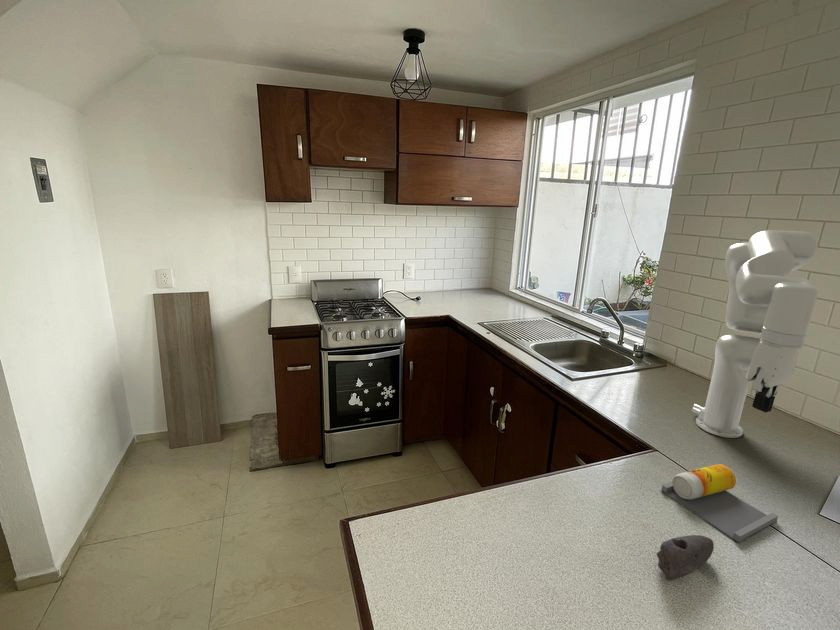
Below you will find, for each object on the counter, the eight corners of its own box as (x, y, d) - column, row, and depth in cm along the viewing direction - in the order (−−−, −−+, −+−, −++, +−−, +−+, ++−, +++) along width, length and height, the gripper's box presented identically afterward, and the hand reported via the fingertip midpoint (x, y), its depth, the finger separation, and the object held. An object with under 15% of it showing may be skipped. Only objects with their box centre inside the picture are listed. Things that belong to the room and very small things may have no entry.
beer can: (731, 462, 106) (686, 473, 101) (742, 488, 103) (697, 500, 99) (710, 464, 111) (667, 475, 106) (720, 489, 109) (677, 500, 104)
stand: (661, 491, 106) (662, 485, 105) (698, 475, 112) (699, 470, 112) (738, 543, 90) (740, 536, 90) (776, 522, 97) (778, 515, 96)
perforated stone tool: (697, 547, 89) (704, 520, 87) (721, 567, 84) (729, 539, 83) (644, 567, 84) (650, 539, 82) (668, 590, 79) (675, 561, 77)
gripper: (781, 328, 101) (761, 396, 106) (744, 336, 95) (725, 408, 100) (819, 338, 94) (797, 410, 100) (782, 347, 88) (760, 423, 94)
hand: (761, 409), depth 100 cm, fingers closed
